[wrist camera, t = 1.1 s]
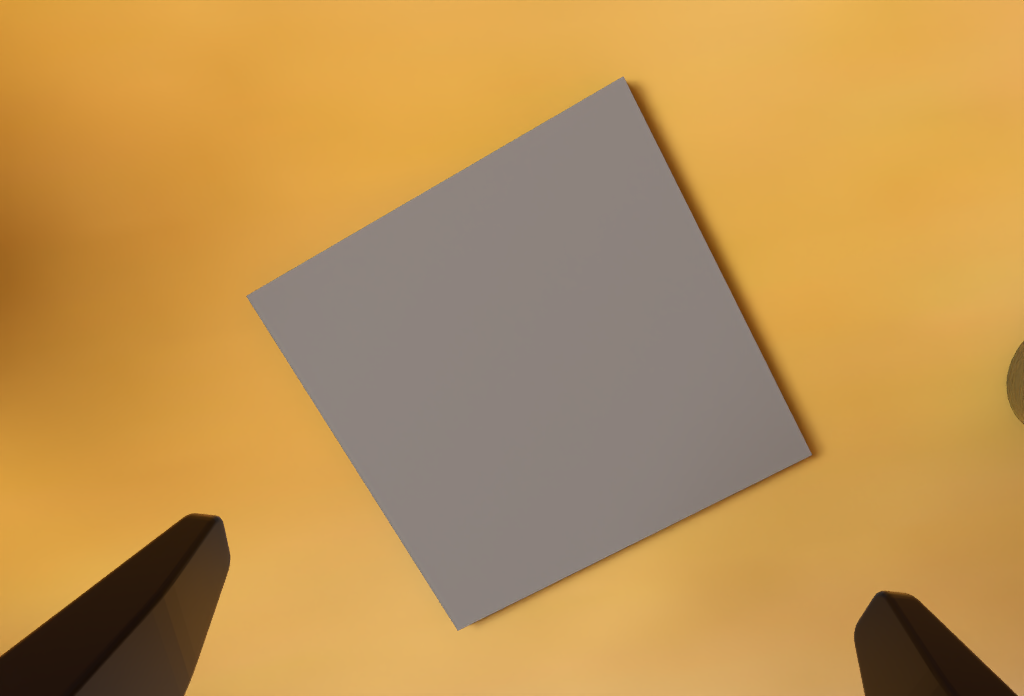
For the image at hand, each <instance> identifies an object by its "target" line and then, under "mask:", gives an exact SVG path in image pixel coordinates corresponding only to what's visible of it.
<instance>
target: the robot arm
mask: <svg viewBox="0 0 1024 696" xmlns="http://www.w3.org/2000/svg"><path fill="white" fill-rule="evenodd" d="M229 566H230V551H229V547H228V542H227V538H226V533H225V528H224V524H223V521H222V519H221V518H220V517H219V516H215V515H206V514H197V513H194V514H189V515H187V516H185V517H183V518H182V519H181V520H179V521H178V522H177V523H175V524H174V525H173V526H172V527H170V528H169V529H168V530H166V531H165V532H164V533H162V534H161V535H160V536H158V537H157V538H156V539H154V540H153V541H152V542H150V543H149V544H148V545H147V546H145V547H144V548H143V549H141V550H140V551H139V552H137V553H136V554H135V555H133V556H132V557H131V558H129V559H128V560H127V561H125V562H124V563H123V564H121V565H120V566H119V567H118V568H116V569H115V570H114V571H112V572H111V573H110V574H108V575H107V576H106V577H104V578H103V579H102V580H100V581H99V582H98V583H96V584H95V585H94V586H93V587H91V588H90V589H89V590H87V591H86V592H85V593H83V594H82V595H81V596H79V597H78V598H77V599H75V600H74V601H73V602H71V603H70V604H69V605H68V606H66V607H65V608H64V609H62V610H61V611H60V612H58V613H57V614H56V615H54V616H53V617H52V618H50V619H49V620H48V621H46V622H45V623H44V624H42V625H41V626H40V627H39V628H37V629H36V630H35V631H33V632H32V633H31V634H29V635H28V636H27V637H25V638H24V639H23V640H21V641H20V642H19V643H17V644H16V645H15V646H14V647H12V648H11V649H10V650H8V651H7V652H6V653H4V654H3V655H2V656H0V696H184V695H185V692H186V690H187V688H188V685H189V683H190V681H191V678H192V675H193V673H194V670H195V667H196V664H197V662H198V659H199V656H200V653H201V650H202V647H203V644H204V641H205V638H206V635H207V632H208V629H209V626H210V623H211V621H212V618H213V615H214V612H215V609H216V606H217V603H218V600H219V597H220V594H221V591H222V588H223V585H224V582H225V579H226V577H227V574H228V570H229ZM854 642H855V648H856V653H857V658H858V663H859V668H860V673H861V678H862V683H863V688H864V693H865V696H1018V695H1017V694H1016V693H1014V692H1013V691H1012V690H1011V689H1010V688H1009V687H1008V686H1007V685H1006V684H1005V683H1004V682H1003V681H1002V680H1001V679H1000V678H999V677H998V676H997V675H996V674H995V673H994V672H993V671H992V670H991V669H990V668H989V667H987V666H986V665H985V664H984V663H983V662H982V661H981V660H980V659H979V658H978V657H977V656H976V655H975V654H974V653H973V652H972V651H971V650H970V649H969V648H968V647H967V646H966V645H965V644H964V643H963V642H962V641H960V640H959V639H958V638H957V637H956V636H955V635H954V634H953V633H952V632H951V631H950V630H949V629H948V628H947V627H946V626H945V625H944V624H943V623H942V622H941V621H940V620H939V619H938V618H937V617H936V616H935V615H934V614H932V613H931V612H930V611H929V610H928V609H927V608H926V607H925V606H924V605H923V604H922V603H921V602H920V601H919V600H918V599H917V598H915V597H914V596H912V595H910V594H906V593H899V592H890V591H881V592H879V593H877V594H876V595H875V596H874V598H873V599H872V601H871V602H870V604H869V605H868V607H867V608H866V610H865V612H864V613H863V615H862V616H861V618H860V619H859V621H858V623H857V625H856V628H855V632H854Z"/></svg>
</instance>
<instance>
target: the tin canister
mask: <svg viewBox="0 0 1024 696" xmlns="http://www.w3.org/2000/svg"><path fill="white" fill-rule="evenodd" d="M1007 394H1008V400H1009V402H1010V405H1011V408H1012V410H1013V411H1014V413H1015V415H1016V416H1017V417H1018V419H1019V420H1020V421H1021V422H1022V423H1023V424H1024V342H1023V343H1022V344H1021V345H1020V347H1019V348H1018V350H1017V351H1016V353H1015V355H1014V357H1013V359H1012V361H1011V364H1010V367H1009V371H1008V375H1007Z"/></svg>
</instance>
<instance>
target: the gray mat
mask: <svg viewBox="0 0 1024 696" xmlns="http://www.w3.org/2000/svg"><path fill="white" fill-rule="evenodd" d="M247 298H248V299H249V301H250V303H251V304H252V306H253V307H254V309H255V311H256V312H257V314H258V315H259V317H260V318H261V320H262V322H263V323H264V325H265V326H266V328H267V330H268V331H269V333H270V334H271V336H272V337H273V339H274V341H275V342H276V344H277V345H278V347H279V349H280V350H281V352H282V353H283V355H284V356H285V358H286V360H287V361H288V363H289V364H290V366H291V368H292V369H293V371H294V372H295V374H296V375H297V377H298V379H299V380H300V382H301V383H302V385H303V387H304V388H305V390H306V391H307V393H308V394H309V396H310V398H311V399H312V401H313V402H314V404H315V405H316V407H317V409H318V410H319V412H320V413H321V415H322V417H323V418H324V420H325V421H326V423H327V424H328V426H329V428H330V429H331V431H332V432H333V434H334V436H335V437H336V439H337V440H338V442H339V443H340V445H341V447H342V448H343V450H344V451H345V453H346V455H347V456H348V458H349V459H350V461H351V462H352V464H353V466H354V467H355V469H356V470H357V472H358V474H359V475H360V477H361V478H362V480H363V481H364V483H365V485H366V486H367V488H368V489H369V491H370V493H371V494H372V496H373V497H374V499H375V500H376V502H377V504H378V505H379V507H380V508H381V510H382V512H383V513H384V515H385V516H386V518H387V519H388V521H389V523H390V524H391V526H392V527H393V529H394V530H395V532H396V534H397V535H398V537H399V538H400V540H401V542H402V543H403V545H404V546H405V548H406V549H407V551H408V553H409V554H410V556H411V557H412V559H413V561H414V562H415V564H416V565H417V567H418V568H419V570H420V572H421V573H422V575H423V576H424V578H425V580H426V581H427V583H428V584H429V586H430V587H431V589H432V591H433V592H434V594H435V595H436V597H437V599H438V600H439V602H440V603H441V605H442V606H443V608H444V610H445V611H446V613H447V614H448V616H449V618H450V619H451V621H452V622H453V624H454V625H455V627H456V629H457V630H460V629H462V628H464V627H466V626H468V625H470V624H472V623H474V622H476V621H478V620H480V619H482V618H484V617H486V616H488V615H490V614H492V613H494V612H497V611H499V610H501V609H503V608H505V607H507V606H509V605H511V604H513V603H515V602H517V601H519V600H521V599H523V598H525V597H527V596H529V595H531V594H533V593H535V592H537V591H539V590H541V589H543V588H545V587H547V586H549V585H551V584H553V583H555V582H557V581H559V580H561V579H563V578H565V577H567V576H569V575H571V574H573V573H575V572H577V571H579V570H581V569H583V568H585V567H587V566H589V565H591V564H593V563H595V562H597V561H599V560H601V559H603V558H605V557H607V556H609V555H611V554H613V553H615V552H618V551H620V550H622V549H624V548H626V547H628V546H630V545H632V544H634V543H636V542H638V541H640V540H642V539H644V538H646V537H648V536H650V535H652V534H654V533H656V532H658V531H660V530H662V529H664V528H666V527H668V526H670V525H672V524H674V523H676V522H678V521H680V520H682V519H684V518H686V517H688V516H690V515H692V514H694V513H696V512H698V511H700V510H702V509H704V508H706V507H708V506H710V505H712V504H714V503H716V502H718V501H720V500H722V499H724V498H726V497H728V496H730V495H732V494H734V493H737V492H739V491H741V490H743V489H745V488H747V487H749V486H751V485H753V484H755V483H757V482H759V481H761V480H763V479H765V478H767V477H769V476H771V475H773V474H775V473H777V472H779V471H781V470H783V469H785V468H787V467H789V466H791V465H793V464H795V463H797V462H799V461H801V460H803V459H805V458H807V457H809V456H811V455H812V454H811V452H810V450H809V448H808V446H807V444H806V442H805V440H804V438H803V436H802V434H801V432H800V430H799V428H798V426H797V424H796V422H795V420H794V418H793V416H792V414H791V412H790V410H789V407H788V405H787V403H786V401H785V399H784V397H783V395H782V393H781V391H780V389H779V387H778V385H777V383H776V381H775V379H774V377H773V375H772V373H771V371H770V369H769V367H768V365H767V363H766V361H765V359H764V357H763V355H762V353H761V351H760V349H759V347H758V345H757V343H756V341H755V339H754V337H753V335H752V333H751V331H750V329H749V327H748V325H747V323H746V321H745V319H744V317H743V315H742V313H741V311H740V309H739V307H738V305H737V303H736V301H735V299H734V297H733V295H732V293H731V291H730V289H729V287H728V285H727V283H726V281H725V279H724V277H723V275H722V273H721V271H720V269H719V267H718V265H717V263H716V261H715V259H714V257H713V255H712V253H711V251H710V249H709V247H708V245H707V243H706V241H705V239H704V237H703V235H702V233H701V231H700V229H699V227H698V225H697V223H696V221H695V219H694V217H693V215H692V213H691V211H690V209H689V207H688V205H687V203H686V201H685V199H684V197H683V195H682V193H681V191H680V189H679V187H678V185H677V183H676V181H675V179H674V177H673V175H672V173H671V171H670V169H669V167H668V165H667V163H666V161H665V159H664V157H663V155H662V153H661V151H660V149H659V147H658V145H657V143H656V141H655V139H654V137H653V135H652V133H651V131H650V129H649V127H648V125H647V123H646V121H645V119H644V117H643V115H642V113H641V111H640V109H639V107H638V105H637V103H636V101H635V99H634V97H633V95H632V93H631V91H630V89H629V87H628V85H627V83H626V81H625V79H624V77H621V78H620V79H618V80H616V81H615V82H613V83H611V84H609V85H608V86H606V87H604V88H603V89H601V90H599V91H597V92H596V93H594V94H592V95H591V96H589V97H587V98H585V99H584V100H582V101H580V102H579V103H577V104H575V105H573V106H572V107H570V108H568V109H567V110H565V111H563V112H561V113H560V114H558V115H556V116H555V117H553V118H551V119H549V120H548V121H546V122H544V123H542V124H541V125H539V126H537V127H536V128H534V129H532V130H530V131H529V132H527V133H525V134H524V135H522V136H520V137H518V138H517V139H515V140H513V141H512V142H510V143H508V144H506V145H505V146H503V147H501V148H500V149H498V150H496V151H494V152H493V153H491V154H489V155H488V156H486V157H484V158H482V159H481V160H479V161H477V162H476V163H474V164H472V165H470V166H469V167H467V168H465V169H464V170H462V171H460V172H458V173H457V174H455V175H453V176H452V177H450V178H448V179H446V180H445V181H443V182H441V183H440V184H438V185H436V186H434V187H433V188H431V189H429V190H428V191H426V192H424V193H422V194H421V195H419V196H417V197H415V198H414V199H412V200H410V201H409V202H407V203H405V204H403V205H402V206H400V207H398V208H397V209H395V210H393V211H391V212H390V213H388V214H386V215H385V216H383V217H381V218H379V219H378V220H376V221H374V222H373V223H371V224H369V225H367V226H366V227H364V228H362V229H361V230H359V231H357V232H355V233H354V234H352V235H350V236H349V237H347V238H345V239H343V240H342V241H340V242H338V243H337V244H335V245H333V246H331V247H330V248H328V249H326V250H325V251H323V252H321V253H319V254H318V255H316V256H314V257H313V258H311V259H309V260H307V261H306V262H304V263H302V264H301V265H299V266H297V267H295V268H294V269H292V270H290V271H288V272H287V273H285V274H283V275H282V276H280V277H278V278H276V279H275V280H273V281H271V282H270V283H268V284H266V285H264V286H263V287H261V288H259V289H258V290H256V291H254V292H252V293H251V294H249V295H247Z"/></svg>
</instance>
